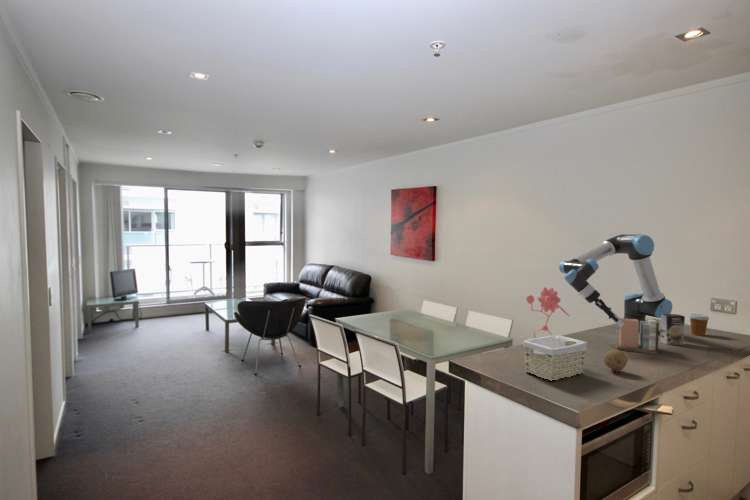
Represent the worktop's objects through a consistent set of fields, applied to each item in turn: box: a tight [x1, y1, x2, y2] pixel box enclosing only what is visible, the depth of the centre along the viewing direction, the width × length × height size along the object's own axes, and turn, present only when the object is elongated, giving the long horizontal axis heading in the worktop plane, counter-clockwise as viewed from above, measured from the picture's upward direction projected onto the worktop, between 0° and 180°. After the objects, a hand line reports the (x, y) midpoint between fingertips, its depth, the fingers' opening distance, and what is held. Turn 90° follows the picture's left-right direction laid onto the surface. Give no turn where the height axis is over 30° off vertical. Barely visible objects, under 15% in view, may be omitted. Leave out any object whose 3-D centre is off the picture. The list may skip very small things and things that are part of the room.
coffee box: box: [659, 313, 686, 346], centre depth 229 cm, size 9×6×16 cm
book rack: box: [613, 316, 660, 355], centre depth 218 cm, size 12×18×16 cm, turn 67°
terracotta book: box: [618, 317, 640, 348], centre depth 219 cm, size 5×8×14 cm, turn 67°
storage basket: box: [522, 334, 588, 379], centre depth 180 cm, size 24×16×15 cm
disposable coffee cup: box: [689, 313, 710, 337], centre depth 247 cm, size 10×10×12 cm
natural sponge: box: [603, 349, 628, 373], centre depth 182 cm, size 9×9×10 cm
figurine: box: [526, 286, 570, 338], centre depth 203 cm, size 15×26×35 cm, turn 27°
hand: (620, 323), depth 220 cm, fingers open, 13 cm apart
